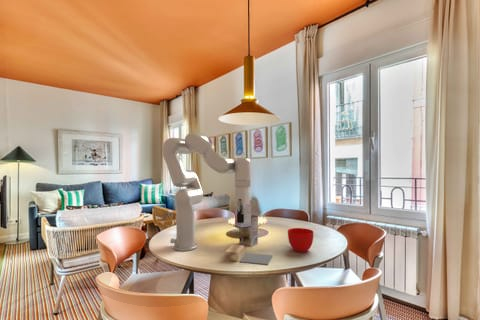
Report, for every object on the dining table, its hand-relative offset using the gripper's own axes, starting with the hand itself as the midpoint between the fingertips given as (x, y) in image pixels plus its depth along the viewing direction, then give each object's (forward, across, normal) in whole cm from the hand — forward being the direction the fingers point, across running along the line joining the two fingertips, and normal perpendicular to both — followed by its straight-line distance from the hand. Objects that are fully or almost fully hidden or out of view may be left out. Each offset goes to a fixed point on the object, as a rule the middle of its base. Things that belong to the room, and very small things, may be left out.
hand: (242, 220), depth 123 cm
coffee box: (+18, -23, -3) cm, 29 cm away
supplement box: (+3, 0, 0) cm, 3 cm away
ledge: (+17, 0, -4) cm, 18 cm away
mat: (+18, 0, +6) cm, 19 cm away
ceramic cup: (+18, -20, +25) cm, 37 cm away
